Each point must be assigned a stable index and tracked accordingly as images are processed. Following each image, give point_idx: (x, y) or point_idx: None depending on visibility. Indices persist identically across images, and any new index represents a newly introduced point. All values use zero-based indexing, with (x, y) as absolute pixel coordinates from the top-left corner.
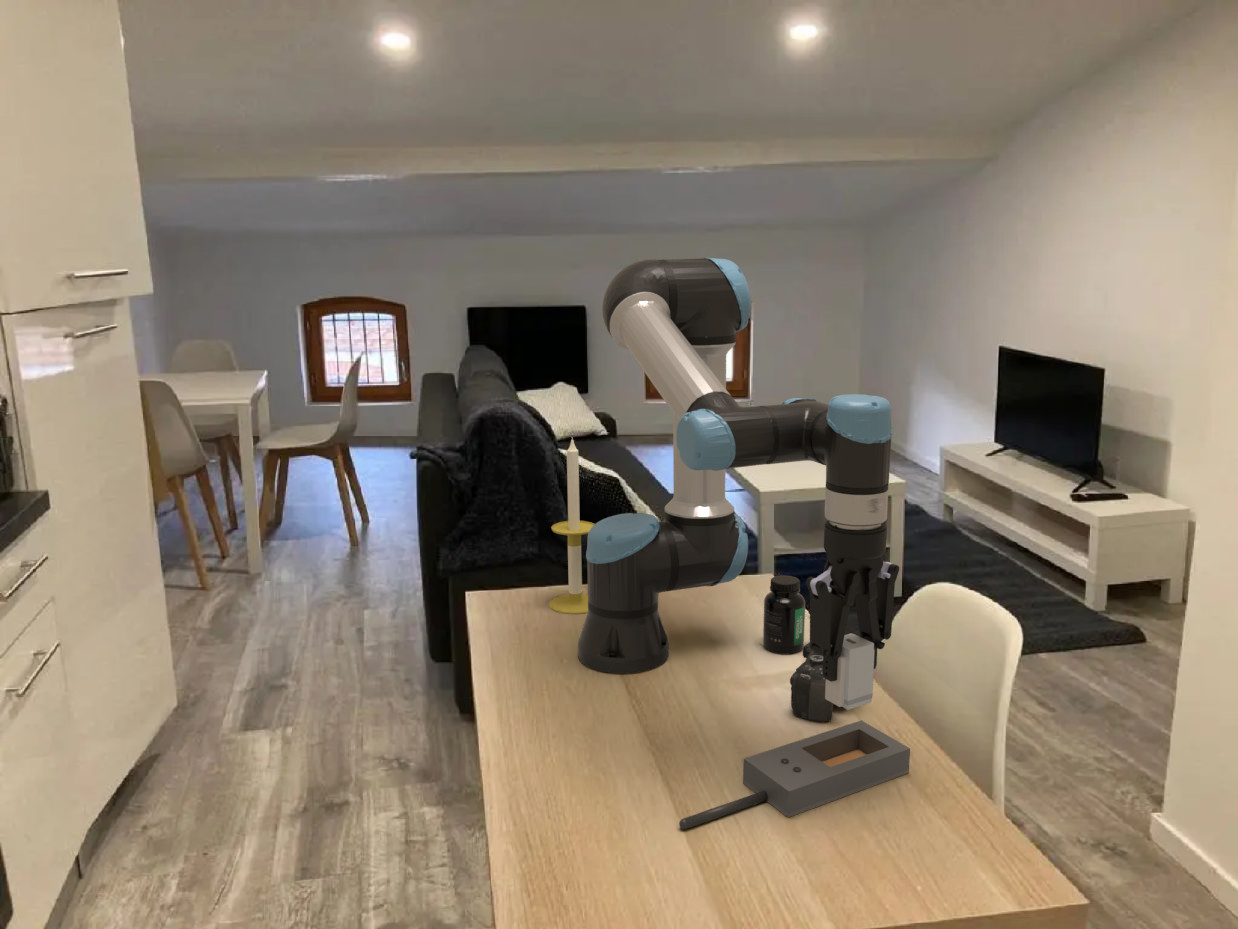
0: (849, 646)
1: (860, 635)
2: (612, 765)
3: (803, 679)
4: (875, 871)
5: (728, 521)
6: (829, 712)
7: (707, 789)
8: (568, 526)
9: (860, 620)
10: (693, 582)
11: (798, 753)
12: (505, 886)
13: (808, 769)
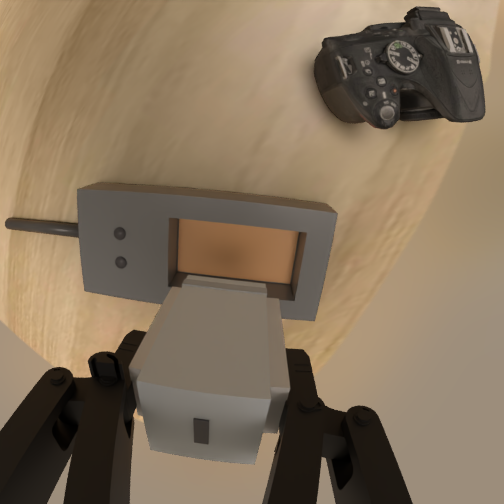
0: (166, 443)
1: (287, 414)
2: (18, 68)
3: (335, 66)
4: None
5: None
6: (348, 122)
7: (58, 168)
8: None
9: (271, 480)
10: None
11: (153, 227)
12: None
13: (136, 271)
